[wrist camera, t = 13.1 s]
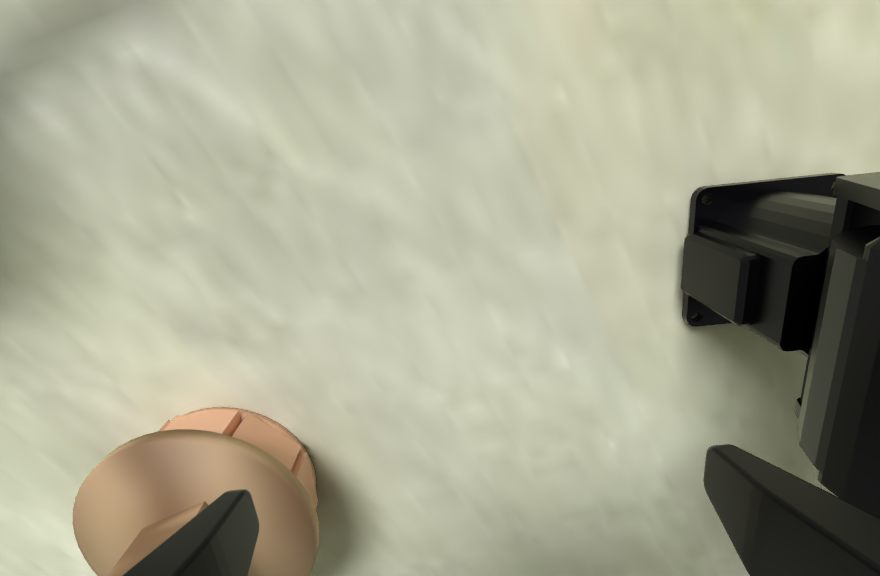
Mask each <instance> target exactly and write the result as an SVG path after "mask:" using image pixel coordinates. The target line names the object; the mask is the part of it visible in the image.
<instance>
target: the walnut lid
mask: <svg viewBox="0 0 880 576" xmlns="http://www.w3.org/2000/svg"><path fill="white" fill-rule="evenodd" d="M239 489H246V490H248V491H249V492H250V493H251V496H252V499H253V502H254V506H255V509H256V512H257V516H258V519H259V534H258V538H257V542H256V546H255V550H254V554H253V558H252V562H251V565H250V569H249V573H248V576H309V574H310V572H311V570H312V567H313V564H314V560H315V557H316V553H317V549H318V545H319V536H320V528H319V519H318V516H317V512H316V508H315V506H314V504H313V501H312V499H311V497H310V495H309V494H308V492H307V490H306V489H305V487H304V486H303V484H302V483H301V482H300V481H299V480H298V478H297V477H296V476H295V475H294V474H293V473H292V472H291V471H290V470H289V469H288V468H287V467H286V466H285V465H284V464H283V463H281V462H280V461H278V460H277V459H276V458H274V457H273V456H272V455H270V454H269V453H267V452H265V451H263V450H262V449H260V448H258V447H256V446H254V445H252V444H250V443H247V442H245V441H243V440H240V439H237V438H234V437H231V436H228V435H225V434H220V433H216V432H211V431H203V430H194V429H175V430H166V431H159V432H155V433H151V434H146V435H143V436H141V437H138V438H135V439H133V440H131V441H129V442H127V443H125V444H123V445H121V446H120V447H118V448H117V449H116V450H114V451H113V452H112V453H110V454H109V455H108V456H107V457H106V458H105V459H104V460H103V461H102V462H101V463H100V464H99V465H98V466H97V467H96V468H95V469H94V470H93V471H92V472H91V473H90V474H89V475H88V476H87V477H86V479H85V481H84V482H83V484H82V485H81V487H80V489H79V491H78V494H77V496H76V498H75V503H74V508H73V527H74V534H75V537H76V540H77V543H78V546H79V548H80V550H81V552H82V554H83V556H84V558H85V560H86V561H87V563H88V564H89V565H90V567H91V568H92V570H93V571H94V572H95V573H96V574H97V575H98V576H122V575H123V574H124V573H126V572H127V571H128V570H129V569H131V568H132V567H133V566H134V565H135V564H137V563H138V562H139V561H140V560H142V559H143V558H144V557H145V556H147V555H148V554H149V553H150V552H152V551H153V550H154V549H155V548H156V547H158V546H159V545H160V544H161V543H163V542H164V541H165V540H166V539H168V538H169V537H170V536H171V535H173V534H174V533H175V532H176V531H177V530H179V529H180V528H181V527H182V526H184V525H185V524H186V523H187V522H189V521H190V520H191V519H192V518H194V517H195V516H196V515H197V514H198V513H200V512H201V511H202V510H203V509H205V508H206V507H207V506H208V505H210V504H211V503H212V502H213V501H215V500H216V499H217V498H218V497H219V496H221V495H222V494H223V493H225V492H226V491H230V490H239Z"/></svg>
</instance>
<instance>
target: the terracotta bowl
mask: <svg viewBox="0 0 880 576" xmlns="http://www.w3.org/2000/svg"><path fill="white" fill-rule="evenodd" d="M175 429H194V430H203V431H211V432H216V433H220V434H225V435H228V436H231V437H234V438H237V439H240V440H243V441H245V442H247V443H250V444H252V445H254V446H256V447H258V448H260V449H262V450H263V451H265V452H267V453H269V454H270V455H272V456H273V457H274V458H276V459H277V460H278V461H280V462H281V463H283V464H284V465H285V466H286V467H287V468H288V469H289V470H290V471H291V472H292V473H293V474H294V475H295V476H296V477H297V478H298V480H299V481H300V482H301V483H302V484H303V486H304V487H305V489H306V490H307V492H308V494H309V495H310V497H311V499H312V501H313V504H314V506H315V508H316V506H317V503H318V498H317V493H316V474H315V469H314V466H313V463H312V460H311V458H310V456H309V454H308V452H307V451H306V449H305V448H304V447H303V445H302V444H301V443H300V442H299V440H298V439H297V438H296V437H295V436H294V435H293V434H292V433H290V432H289V431H288V430H287V429H286V428H284V427H283V426H281V425H280V424H278V423H277V422H275V421H273V420H271V419H269V418H267V417H265V416H263V415H260V414H258V413H254V412H251V411H248V410H243V409H238V408H228V407H214V408H206V409H200V410H197V411H193V412H190V413H188V414H185V415H183V416H176V417H175V418H174V419H173V420H172V421H169V420H168V421H167V422H166V423H165V425H164V426H163V427H162V428H161V429H160V430H159V431H166V430H175ZM159 431H158V432H159Z"/></svg>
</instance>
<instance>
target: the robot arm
mask: <svg viewBox="0 0 880 576" xmlns="http://www.w3.org/2000/svg"><path fill="white" fill-rule="evenodd" d="M834 181H835V187H834V188H833V189H831V186H832V183H833V182H834ZM705 194H708V200H707V201H706V202H705V203H702V197H703V196H704V195H705ZM681 289H682V290H683V291H684V298H683V311H682V317H683V319H684V321H685V322H687V323H688V324H690V325H691V326H706V325H716V324H726V323H734V324H735V325H737V326H744V327H746V328H748V329H749V330H751V331H752V332H754V333H756V334H757V335H759V336H760V337H762V338H764V339H765V340H767V341H769V342H770V343H772V344H773V345H775V346H777V347H778V348H780V349H781V350H783V351H796V350H797V351H799V352H800V353H802V354H804V355H805V356H807V357H808V360H807V366H806V371H805V377H804V382H803V388H802V394H801V398H798V399H797V402H796V408H795V414H796V415H797V417H798V419H799V422H798V436H799V445H800V446H801V448H802V449H803V450H804V452H805V453H806V455H807V456H808V458H809V459H810V460H811V462H812V463H813V465H814V466H815V467H816V468H817V469H818V470H819V471H818V480H819V481H820V483H821V484H822V485H824V486H825V487H826V488H827V489H828V490H830V491H831V492H832V493H833V494H835V495H836V496H837V497H836V496H834V495H832V494H830V493H828V492H826V491H824V490H822V489H820V488H818V487H816V486H814V485H812V484H810V483H808V482H806V481H804V480H802V479H800V478H798V477H796V476H794V475H792V474H790V473H788V472H786V471H784V470H782V469H780V468H778V467H776V466H774V465H772V464H770V463H768V462H766V461H764V460H762V459H760V458H758V457H756V456H754V455H752V454H750V453H748V452H746V451H744V450H742V449H740V448H738V447H736V446H734V445H729V444H727V445H716V446H711V447H709V448H708V450H707V453H706V462H705V471H704V486H705V490H706V493H707V495H708V497H709V499H710V501H711V503H712V505H713V506H714V508H715V510H716V512H717V514H718V516H719V518H720V520H721V522H722V524H723V526H724V528H725V530H726V532H727V534H728V535H729V537H730V539H731V541H732V543H733V545H734V547H735V549H736V551H737V553H738V555H739V557H740V559H741V561H742V562H743V564H744V566H745V568H746V570H747V571H748V573H749V575H750V576H880V172H876V173H866V174H857V175H847V176H846V175H844V174H836V173H827V174H818V175H808V176H798V177H789V178H779V179H770V180H760V181H750V182H741V183H731V184H722V185H712V186H703V187H700V188H698V189H697V190H695V191H694V193H693V194H692V198H691V207H690V220H689V233H688V235H687V237H686V238H685V242H684V256H683V269H682V283H681ZM695 312H698V315H697V316H696V317H695V318H692V315H693V314H694V313H695ZM258 534H259V519H258V516H257V512H256V509H255V506H254V502H253V499H252V496H251V493H250V492H249V491H248V490H246V489H239V490H230V491H226V492H225V493H223V494H222V495H221V496H219V497H218V498H217V499H216V500H215V501H213V502H212V503H211V504H210V505H208V506H207V507H206V508H205V509H203V510H202V511H201V512H200V513H198V514H197V515H196V516H195V517H194V518H192V519H191V520H190V521H189V522H187V523H186V524H185V525H184V526H182V527H181V528H180V529H179V530H177V531H176V532H175V533H174V534H173V535H171V536H170V537H169V538H168V539H166V540H165V541H164V542H163V543H161V544H160V545H159V546H158V547H156V548H155V549H154V550H153V551H152V552H150V553H149V554H148V555H147V556H145V557H144V558H143V559H142V560H140V561H139V562H138V563H137V564H135V565H134V566H133V567H132V568H131V569H129V570H128V571H127V572H126V573H124V574H123V575H122V576H248V573H249V569H250V565H251V562H252V558H253V554H254V550H255V546H256V542H257V538H258Z"/></svg>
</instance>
